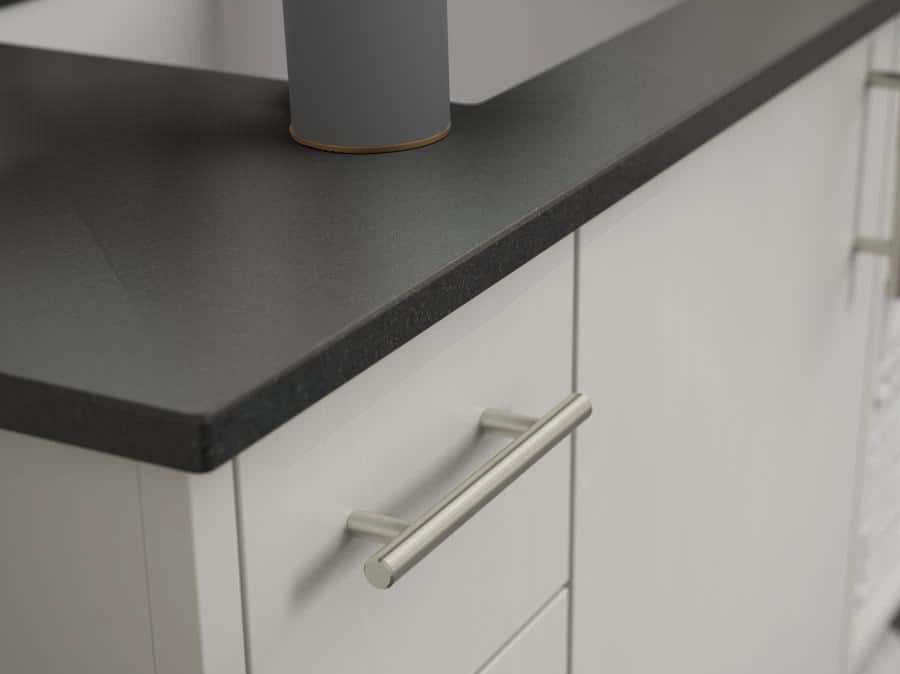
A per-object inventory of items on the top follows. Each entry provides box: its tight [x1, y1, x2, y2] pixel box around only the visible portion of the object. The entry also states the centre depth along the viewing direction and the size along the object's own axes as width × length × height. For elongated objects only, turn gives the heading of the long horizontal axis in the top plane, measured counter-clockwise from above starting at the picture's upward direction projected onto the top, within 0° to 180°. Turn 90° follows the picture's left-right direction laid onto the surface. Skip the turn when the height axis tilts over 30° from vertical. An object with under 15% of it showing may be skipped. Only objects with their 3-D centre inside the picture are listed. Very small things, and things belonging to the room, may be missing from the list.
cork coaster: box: [288, 120, 452, 154], centre depth 87 cm, size 9×9×1 cm
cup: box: [281, 0, 451, 147], centre depth 85 cm, size 8×8×10 cm
